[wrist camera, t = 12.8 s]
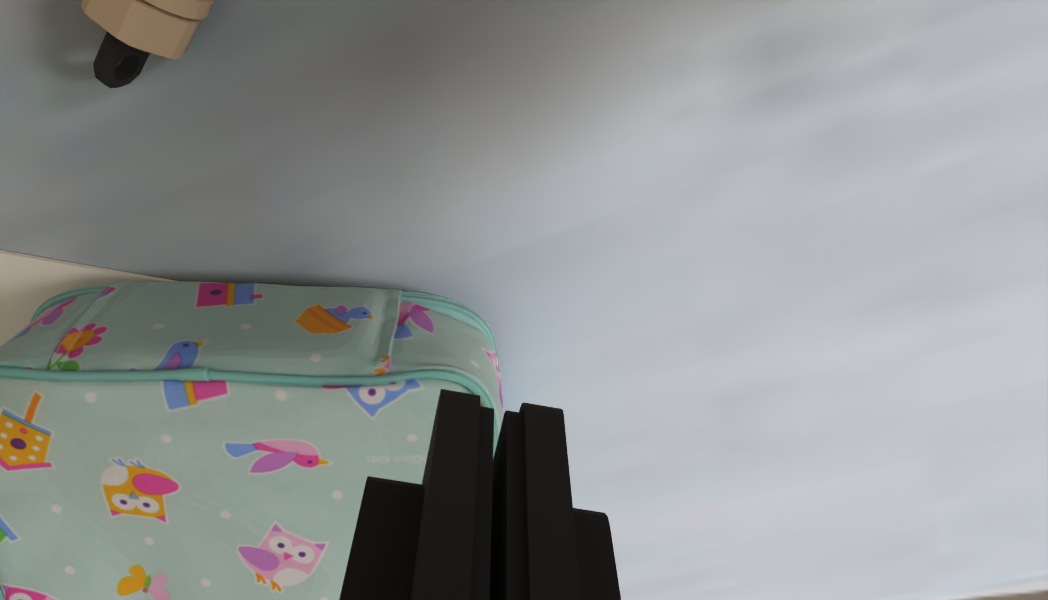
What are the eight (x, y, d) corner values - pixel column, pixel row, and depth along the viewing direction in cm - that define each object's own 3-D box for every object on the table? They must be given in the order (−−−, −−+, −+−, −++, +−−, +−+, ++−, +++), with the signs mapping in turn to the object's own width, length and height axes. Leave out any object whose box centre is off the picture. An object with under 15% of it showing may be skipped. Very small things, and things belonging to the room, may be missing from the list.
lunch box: (-5, 265, 46) (84, 567, 56) (-132, 372, 37) (2, 710, 47) (506, 269, 47) (504, 568, 57) (504, 376, 37) (502, 710, 48)
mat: (-11, 247, 46) (-14, 250, 46) (479, 333, 49) (479, 336, 49) (7, 512, 54) (4, 516, 54) (428, 573, 57) (427, 577, 56)
